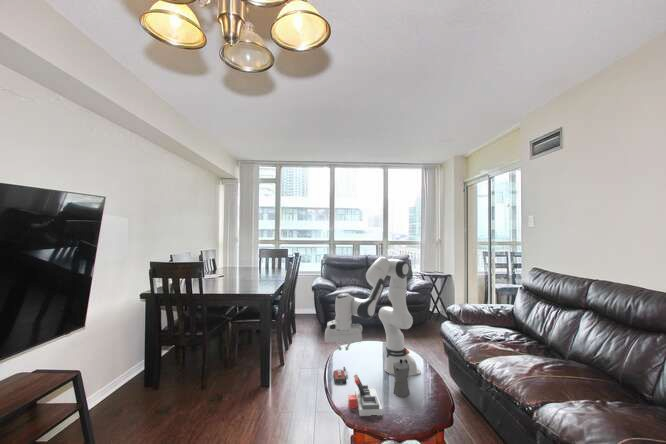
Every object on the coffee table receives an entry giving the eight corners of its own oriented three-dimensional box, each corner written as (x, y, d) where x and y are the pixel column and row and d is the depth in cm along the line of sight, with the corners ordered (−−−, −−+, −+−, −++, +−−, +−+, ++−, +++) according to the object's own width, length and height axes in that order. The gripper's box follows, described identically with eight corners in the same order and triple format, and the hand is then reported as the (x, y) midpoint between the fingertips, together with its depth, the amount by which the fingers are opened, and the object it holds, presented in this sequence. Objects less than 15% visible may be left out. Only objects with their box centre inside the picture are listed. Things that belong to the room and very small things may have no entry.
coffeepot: (405, 401, 156) (405, 366, 156) (388, 395, 161) (388, 361, 161) (415, 388, 168) (414, 355, 169) (399, 383, 174) (398, 352, 174)
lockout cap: (356, 403, 153) (355, 394, 153) (357, 408, 149) (356, 399, 149) (348, 403, 153) (348, 395, 153) (349, 408, 149) (349, 399, 149)
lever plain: (364, 388, 161) (356, 372, 161) (365, 390, 158) (356, 374, 158) (361, 389, 161) (353, 373, 161) (362, 392, 158) (353, 376, 158)
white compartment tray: (374, 393, 162) (374, 384, 163) (382, 415, 143) (382, 404, 144) (355, 394, 162) (354, 385, 162) (359, 416, 143) (359, 405, 143)
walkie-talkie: (349, 384, 173) (345, 369, 193) (349, 377, 173) (345, 362, 193) (334, 385, 172) (332, 369, 192) (334, 377, 173) (332, 362, 193)
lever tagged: (366, 394, 155) (357, 377, 155) (366, 396, 152) (358, 380, 153) (363, 395, 155) (354, 379, 155) (363, 398, 152) (355, 381, 152)
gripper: (361, 321, 164) (361, 347, 164) (324, 322, 163) (324, 348, 163) (363, 325, 158) (363, 351, 157) (324, 326, 157) (324, 352, 156)
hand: (343, 349), depth 160 cm, fingers open, 2 cm apart
